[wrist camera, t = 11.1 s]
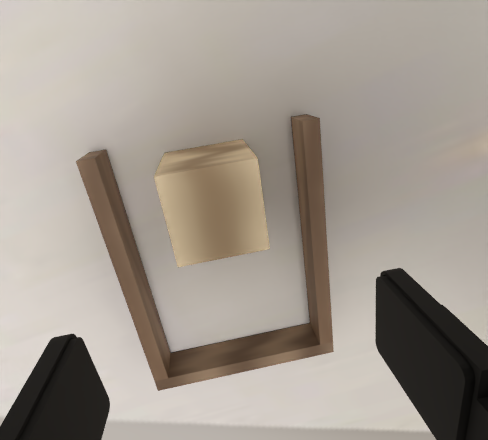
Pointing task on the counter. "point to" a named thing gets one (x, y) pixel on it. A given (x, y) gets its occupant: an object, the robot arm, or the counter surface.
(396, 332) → the robot arm
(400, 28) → the counter surface
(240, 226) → the light wooden block
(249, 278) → the counter surface
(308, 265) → the bay
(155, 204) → the counter surface
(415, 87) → the counter surface
